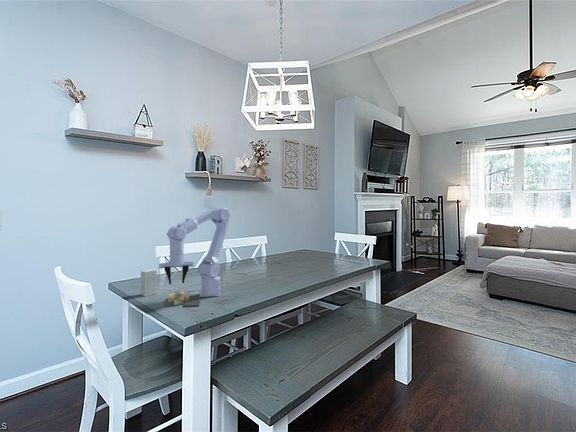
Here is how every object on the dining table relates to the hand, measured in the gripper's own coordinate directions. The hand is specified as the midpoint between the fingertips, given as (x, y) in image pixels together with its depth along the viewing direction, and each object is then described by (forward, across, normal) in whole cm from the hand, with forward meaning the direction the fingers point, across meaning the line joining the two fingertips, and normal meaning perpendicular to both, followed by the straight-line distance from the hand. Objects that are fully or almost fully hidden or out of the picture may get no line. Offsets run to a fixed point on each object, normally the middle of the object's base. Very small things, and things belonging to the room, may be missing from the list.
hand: (176, 283), depth 132 cm
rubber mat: (+9, -6, +3) cm, 12 cm away
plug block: (+10, -1, 0) cm, 10 cm away
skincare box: (+10, +12, -19) cm, 25 cm away
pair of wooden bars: (+9, -1, -6) cm, 11 cm away
